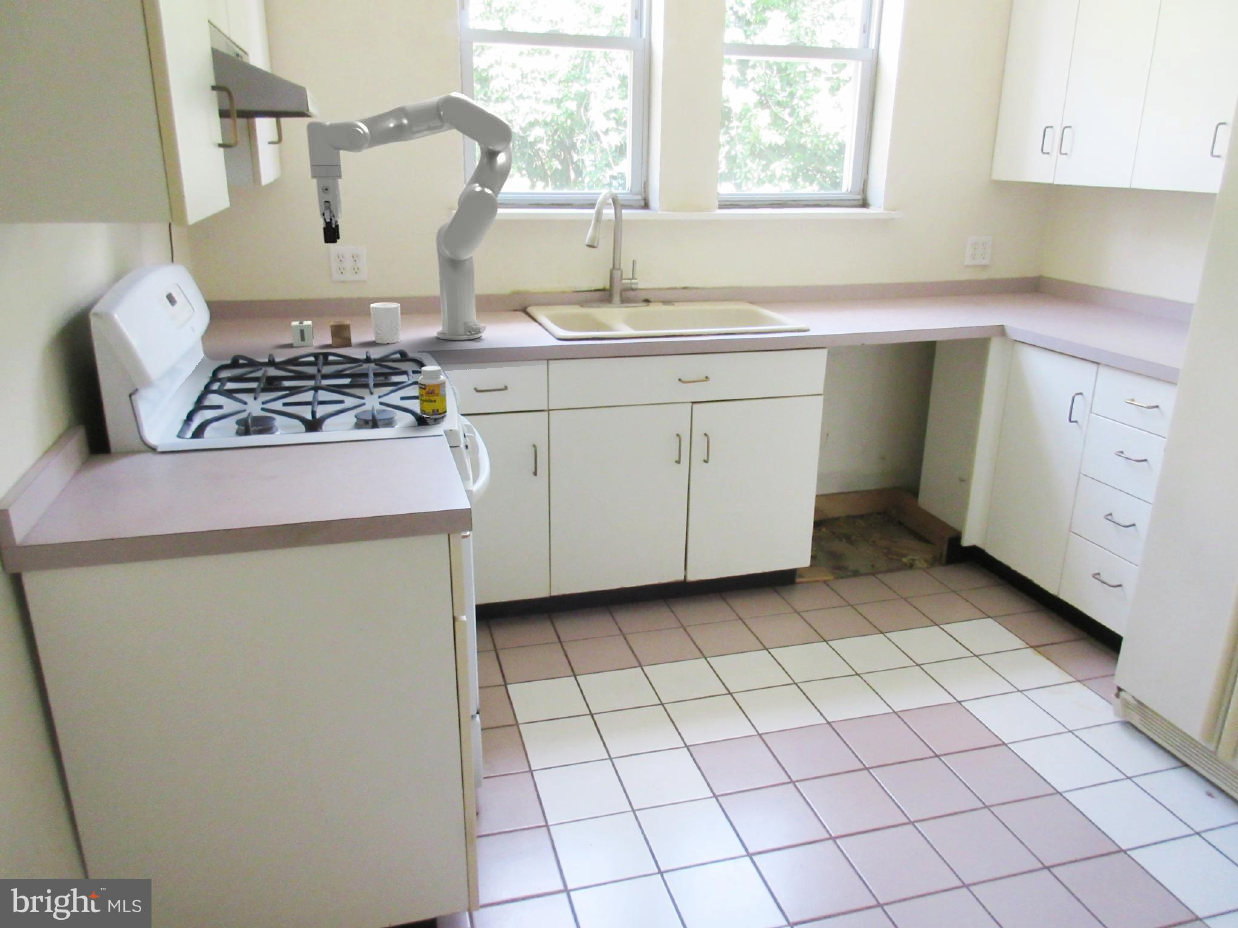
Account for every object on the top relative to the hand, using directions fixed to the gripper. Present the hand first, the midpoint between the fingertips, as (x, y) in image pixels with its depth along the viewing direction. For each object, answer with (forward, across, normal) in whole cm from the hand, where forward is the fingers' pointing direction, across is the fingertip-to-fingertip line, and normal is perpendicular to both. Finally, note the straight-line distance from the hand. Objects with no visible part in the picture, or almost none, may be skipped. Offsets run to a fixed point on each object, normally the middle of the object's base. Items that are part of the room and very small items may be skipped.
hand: (332, 241), depth 236 cm
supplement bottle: (+27, -76, -23) cm, 83 cm away
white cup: (+27, -1, -12) cm, 30 cm away
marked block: (+27, -1, +10) cm, 29 cm away
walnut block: (+27, -4, 0) cm, 27 cm away
